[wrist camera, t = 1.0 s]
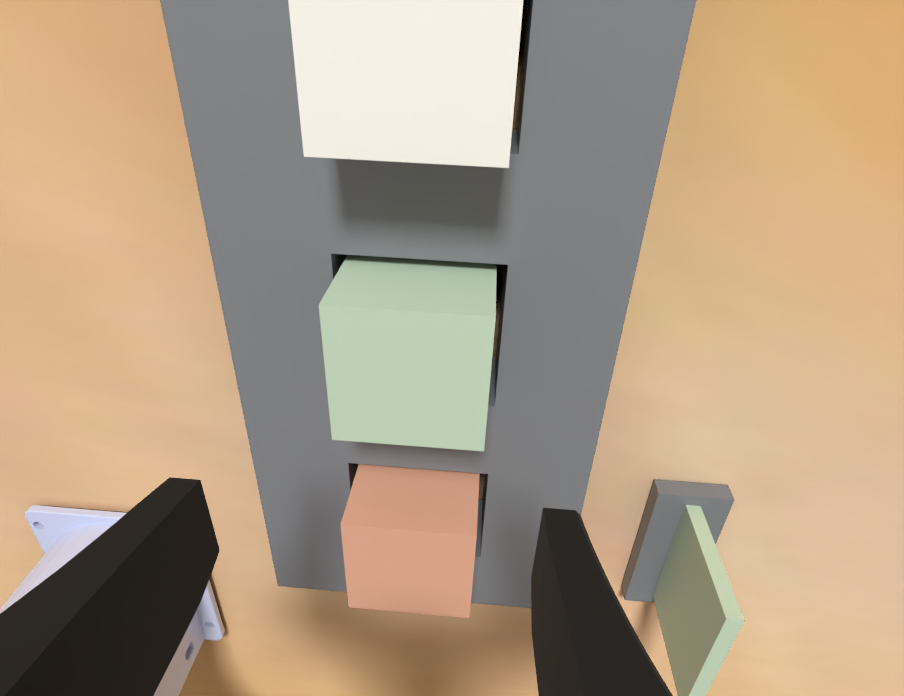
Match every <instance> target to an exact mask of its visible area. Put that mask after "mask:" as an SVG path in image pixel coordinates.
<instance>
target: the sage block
mask: <svg viewBox="0 0 904 696" xmlns="http://www.w3.org/2000/svg"><path fill="white" fill-rule="evenodd" d="M496 278H497V264H488V263H472V262H456V261H441V260H425V259H409V258H393V257H377V256H361V255H347V257H346V258H345V260H344V262H343V264H342V265H341V267H340V269H339V270H338V272H337V274H336V276H335V277H334V279H333V281H332V283H331V284H330V286H329V288H328V290H327V291H326V293H325V295H324V296H323V298H322V300H321V302H320V303H319V315H320V325H321V335H322V345H323V355H324V365H325V375H326V385H327V395H328V405H329V415H330V425H331V435H332V440H341V441H354V442H367V443H380V444H393V445H406V446H419V447H432V448H445V449H458V450H471V451H484V447H485V435H486V424H487V412H488V401H489V389H490V378H491V366H492V355H493V343H494V332H495V320H496Z"/></svg>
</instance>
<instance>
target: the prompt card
mask: <svg viewBox="0 0 904 696" xmlns="http://www.w3.org/2000/svg"><path fill="white" fill-rule="evenodd" d="M733 502H734V498H733V496H732V493H731V491H730V489H729V487H728V485H720V484H707V483H694V482H681V481H669V480H656V479H654V482H653V485H652V488H651V491H650V495H649V498H648V501H647V504H646V508H645V511H644V514H643V517H642V521H641V524H640V527H639V530H638V534H637V537H636V540H635V543H634V547H633V550H632V553H631V556H630V559H629V563H628V566H627V569H626V572H625V576H624V579H623V582H622V589H623V594H624V599H625V600H631V601H642V602H654V603H655V606H656V610H657V614H658V618H659V622H660V626H661V630H662V634H663V638H664V642H665V646H666V650H667V654H668V658H669V662H670V666H671V670H672V674H673V678H674V682H675V686H676V690H677V694H678V696H706V694H707V692H708V690H709V688H710V686H711V684H712V682H713V681H714V679H715V677H716V675H717V673H718V671H719V669H720V667H721V665H722V663H723V661H724V659H725V657H726V655H727V653H728V652H729V650H730V648H731V646H732V644H733V642H734V640H735V638H736V636H737V634H738V632H739V630H740V628H741V626H742V624H743V623H744V621H745V620H744V618H743V615H742V612H741V610H740V607H739V605H738V602H737V599H736V597H735V594H734V592H733V589H732V586H731V584H730V581H729V578H728V576H727V573H726V571H725V568H724V565H723V563H722V560H721V558H720V555H719V552H718V550H717V547H716V545H715V544H716V542H717V540H718V537H719V535H720V533H721V530H722V528H723V525H724V523H725V521H726V518H727V516H728V514H729V511H730V509H731V507H732V504H733Z"/></svg>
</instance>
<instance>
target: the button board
mask: <svg viewBox="0 0 904 696" xmlns="http://www.w3.org/2000/svg"><path fill="white" fill-rule="evenodd" d="M160 2H161V7H162V12H163V16H164V21H165V26H166V31H167V36H168V41H169V46H170V51H171V56H172V61H173V66H174V71H175V76H176V81H177V86H178V91H179V96H180V101H181V106H182V111H183V116H184V121H185V126H186V131H187V136H188V141H189V146H190V151H191V156H192V161H193V166H194V171H195V176H196V180H197V185H198V190H199V195H200V200H201V205H202V210H203V215H204V220H205V225H206V230H207V235H208V240H209V245H210V250H211V255H212V260H213V265H214V270H215V275H216V280H217V285H218V290H219V295H220V300H221V305H222V310H223V315H224V320H225V325H226V330H227V335H228V340H229V345H230V349H231V354H232V359H233V364H234V369H235V374H236V379H237V384H238V389H239V394H240V399H241V404H242V409H243V414H244V419H245V424H246V429H247V434H248V439H249V444H250V449H251V454H252V459H253V464H254V469H255V474H256V479H257V484H258V489H259V494H260V499H261V504H262V509H263V514H264V518H265V523H266V528H267V533H268V538H269V543H270V548H271V553H272V558H273V563H274V568H275V573H276V578H277V583H278V586H285V587H296V588H308V589H319V590H330V591H342V592H347V586H346V576H345V565H344V555H343V545H342V535H341V521H342V518H343V515H344V511H345V508H346V505H347V501H348V498H349V495H350V491H351V488H352V485H353V481H354V478H355V475H356V471H357V468H358V465H359V464H368V465H381V466H394V467H406V468H419V469H432V470H445V471H457V472H470V473H483V474H485V478H484V489H483V500H479V499H478V519H477V539H476V550H475V562H474V573H473V585H472V596H471V603H478V604H489V605H501V606H512V607H523V608H531V575H532V569H533V563H534V557H535V551H536V545H537V540H538V534H539V528H540V522H541V516H542V510H543V508H555V509H567V510H576V511H577V512H578V513H579V514H580V515H581V512H582V507H583V503H584V498H585V494H586V489H587V485H588V480H589V476H590V471H591V467H592V463H593V458H594V454H595V449H596V445H597V440H598V436H599V431H600V427H601V422H602V418H603V413H604V409H605V405H606V400H607V396H608V391H609V387H610V382H611V378H612V373H613V369H614V364H615V360H616V355H617V351H618V347H619V342H620V338H621V333H622V329H623V324H624V320H625V315H626V311H627V306H628V302H629V298H630V293H631V289H632V284H633V280H634V275H635V271H636V266H637V262H638V257H639V253H640V248H641V244H642V240H643V235H644V231H645V226H646V222H647V217H648V213H649V208H650V204H651V199H652V195H653V190H654V186H655V182H656V177H657V173H658V168H659V164H660V159H661V155H662V150H663V146H664V141H665V137H666V133H667V128H668V124H669V119H670V115H671V110H672V106H673V101H674V97H675V92H676V88H677V83H678V79H679V75H680V70H681V66H682V61H683V57H684V52H685V48H686V43H687V39H688V34H689V30H690V25H691V21H692V17H693V12H694V8H695V3H696V0H528V4H527V15H526V26H525V37H524V48H523V59H522V70H521V81H520V92H519V103H518V114H517V125H516V129H512V137H511V148H510V160H509V168H499V167H481V166H463V165H445V164H427V163H409V162H391V161H373V160H355V159H337V158H319V157H304V154H303V144H302V134H301V124H300V114H299V104H298V94H297V84H296V74H295V64H294V54H293V44H292V33H291V23H290V13H289V3H288V0H160ZM347 255H361V256H377V257H393V258H409V259H425V260H441V261H456V262H472V263H488V264H504V269H503V280H502V291H501V302H500V313H499V324H498V335H497V346H496V357H494V356H492V366H491V378H490V389H489V401H488V412H487V424H486V435H485V447H484V451H471V450H458V449H445V448H432V447H419V446H406V445H393V444H380V443H367V442H354V441H341V440H332V435H331V425H330V415H329V405H328V395H327V385H326V375H325V365H324V355H323V345H322V335H321V325H320V315H319V303H320V302H321V300H322V298H323V296H324V295H325V293H326V291H327V290H328V288H329V286H330V284H331V283H332V281H333V279H334V277H335V276H336V274H337V272H338V270H339V269H340V267H341V265H342V264H343V262H344V260H345V258H346V257H347Z"/></svg>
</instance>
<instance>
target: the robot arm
mask: <svg viewBox="0 0 904 696" xmlns="http://www.w3.org/2000/svg"><path fill="white" fill-rule="evenodd" d="M25 517H26V519H27V521H28V523H29V525H30V527H31V529H32V530H33V532H34V534H35V536H36V538H37V540H38V542H39V544H40V546H41V548H42V550H43V552H44V553H45V554H44V556H43V557H42V558H41V559H40V560H39V562H38V563H37V564H36V565H35V567H34V568H33V569H32V570H31V572H30V573H29V574H28V575H27V577H26V578H25V579H24V580H23V582H22V583H21V584H20V585H19V586H18V588H17V589H16V590H15V591H14V593H13V594H12V595H11V596H10V598H9V599H8V600H7V601H6V603H5V604H4V605H3V606H2V608H1V609H0V696H179V694H180V692H181V689H182V687H183V685H184V683H185V681H186V678H187V676H188V674H189V672H190V670H191V667H192V665H193V663H194V661H195V659H196V657H197V654H198V652H199V650H200V648H201V646H202V643H203V641H204V639H205V640H220V639H222V637H223V635H224V633H225V630H224V627H223V623H222V620H221V617H220V613H219V610H218V607H217V603H216V600H215V597H214V593H213V590H212V587H211V583H210V580H209V579H210V576H211V573H212V570H213V567H214V565H215V562H216V559H217V556H218V553H219V546H218V543H217V539H216V535H215V532H214V528H213V524H212V521H211V517H210V514H209V510H208V506H207V503H206V499H205V495H204V492H203V488H202V484H201V481H200V480H194V479H181V478H169V479H167V480H166V481H165V482H164V483H162V484H161V485H160V486H159V487H158V488H156V489H155V490H154V491H153V492H152V493H150V494H149V495H148V496H147V497H146V498H144V499H143V500H142V501H141V502H140V503H138V504H137V505H136V506H135V507H134V508H132V509H131V510H130V511H129V512H128V513H123V512H111V511H99V510H87V509H75V508H64V507H52V506H40V505H35V506H31V507H30V508H29V509H28V510H27V511H26V512H25ZM531 612H532V638H533V647H534V656H535V665H536V674H537V683H538V692H539V696H673V695H672V694H671V692H670V691H669V689H668V687H667V686H666V684H665V682H664V681H663V679H662V678H661V676H660V674H659V673H658V671H657V669H656V667H655V666H654V664H653V662H652V661H651V659H650V657H649V656H648V654H647V652H646V651H645V649H644V647H643V645H642V643H641V642H640V640H639V638H638V636H637V635H636V633H635V631H634V629H633V627H632V625H631V624H630V622H629V620H628V618H627V616H626V614H625V612H624V610H623V608H622V606H621V605H620V603H619V601H618V599H617V597H616V595H615V593H614V591H613V589H612V587H611V585H610V583H609V581H608V579H607V577H606V575H605V572H604V570H603V568H602V566H601V564H600V562H599V560H598V557H597V555H596V553H595V550H594V548H593V546H592V544H591V541H590V539H589V536H588V534H587V531H586V529H585V526H584V524H583V521H582V518H581V515H580V514H579V513H578V512H577V511H576V510H567V509H555V508H543V510H542V516H541V522H540V528H539V534H538V540H537V545H536V551H535V557H534V563H533V569H532V575H531Z"/></svg>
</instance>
